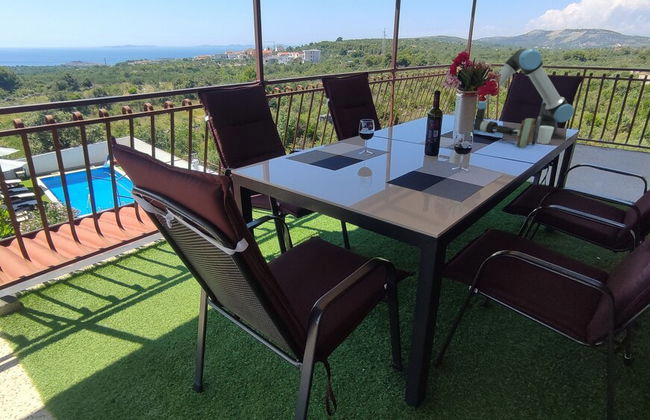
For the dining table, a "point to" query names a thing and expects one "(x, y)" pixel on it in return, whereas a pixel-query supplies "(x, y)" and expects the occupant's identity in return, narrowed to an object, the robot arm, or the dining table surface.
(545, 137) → the white cup
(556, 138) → the dining table surface
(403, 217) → the dining table surface
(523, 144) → the frame
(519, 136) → the brown green flat panel
